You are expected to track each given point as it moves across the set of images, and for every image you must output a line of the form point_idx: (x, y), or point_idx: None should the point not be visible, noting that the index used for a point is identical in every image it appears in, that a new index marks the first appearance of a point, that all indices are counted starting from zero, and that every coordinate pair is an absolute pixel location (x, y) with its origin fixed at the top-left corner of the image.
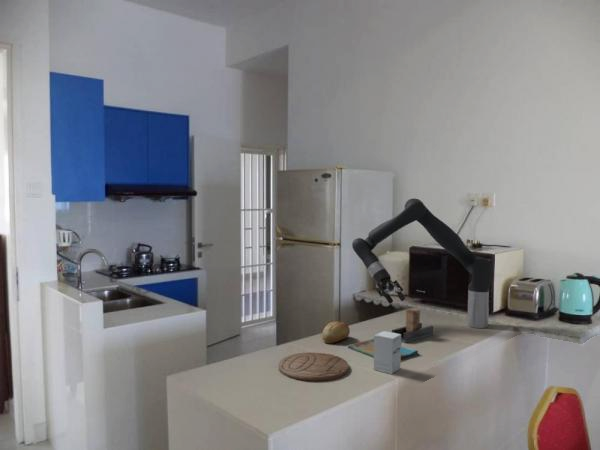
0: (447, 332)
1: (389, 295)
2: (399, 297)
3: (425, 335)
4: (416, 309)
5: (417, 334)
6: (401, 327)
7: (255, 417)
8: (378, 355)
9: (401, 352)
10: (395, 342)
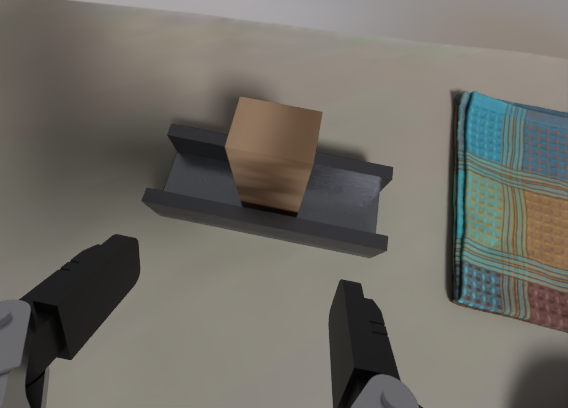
0: (111, 117)
1: (358, 349)
2: (103, 314)
3: None
4: (242, 118)
5: None
6: (306, 232)
7: None
8: None
9: (508, 135)
10: None
